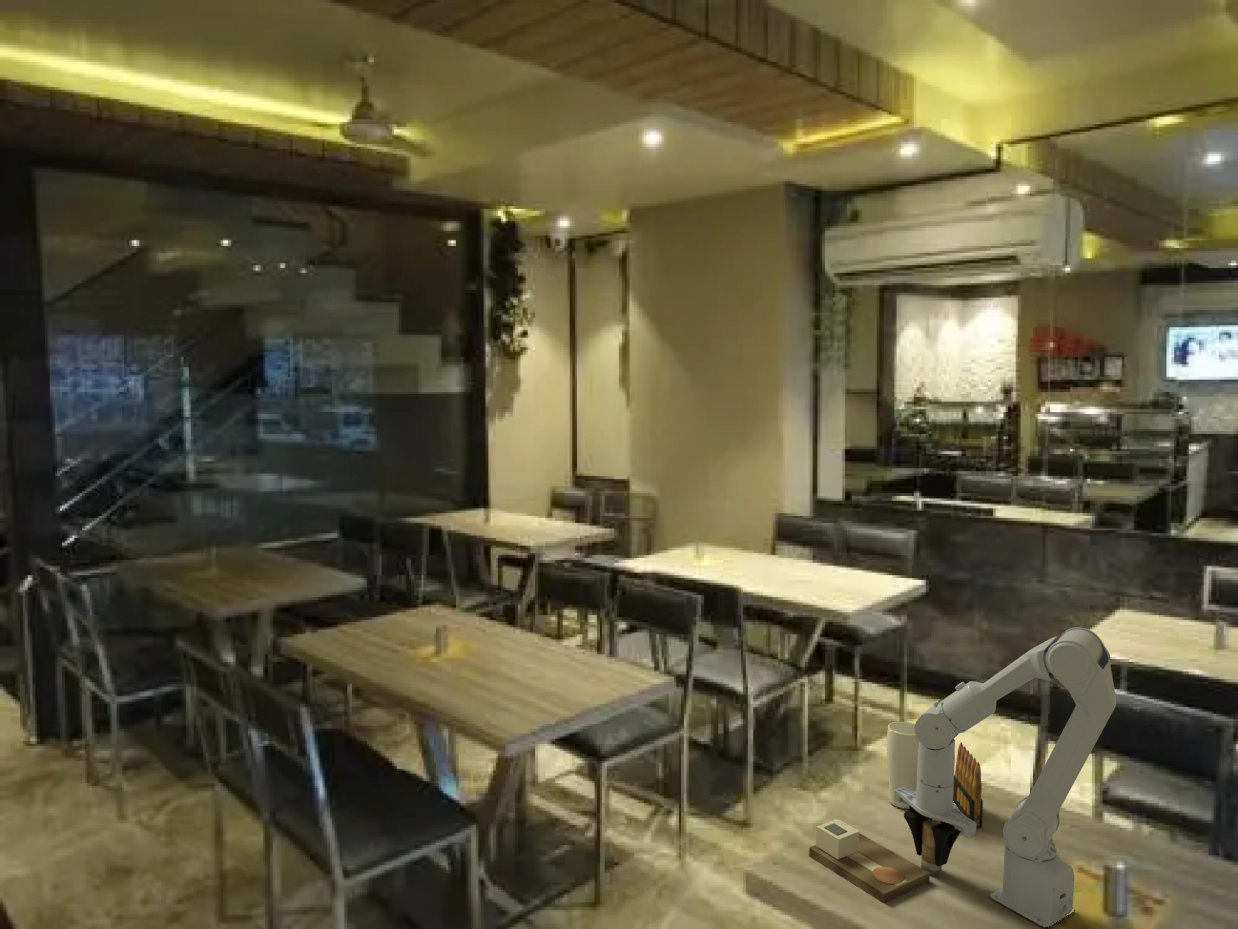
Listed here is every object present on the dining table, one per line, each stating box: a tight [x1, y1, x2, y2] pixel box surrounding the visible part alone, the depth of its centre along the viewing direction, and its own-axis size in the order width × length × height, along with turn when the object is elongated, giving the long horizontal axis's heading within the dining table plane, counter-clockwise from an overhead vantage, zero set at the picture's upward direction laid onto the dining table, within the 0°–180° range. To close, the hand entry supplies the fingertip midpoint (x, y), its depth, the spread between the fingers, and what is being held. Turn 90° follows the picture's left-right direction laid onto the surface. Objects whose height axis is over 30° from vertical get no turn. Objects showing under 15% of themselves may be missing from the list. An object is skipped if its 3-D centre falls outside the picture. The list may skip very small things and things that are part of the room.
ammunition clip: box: [953, 741, 984, 829], centre depth 165 cm, size 11×2×12 cm, turn 178°
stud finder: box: [815, 818, 860, 859], centre depth 149 cm, size 5×5×4 cm
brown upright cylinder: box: [920, 819, 943, 877], centre depth 146 cm, size 3×3×8 cm
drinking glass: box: [886, 721, 919, 810], centre depth 169 cm, size 7×7×15 cm
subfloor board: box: [808, 832, 931, 904], centre depth 147 cm, size 16×11×2 cm
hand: (931, 858), depth 146 cm, fingers closed on brown upright cylinder, 3 cm apart
